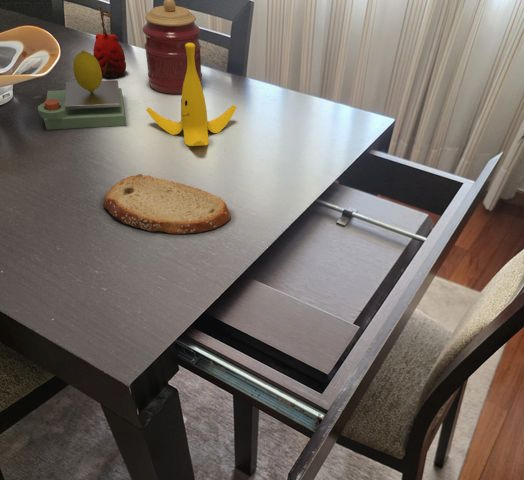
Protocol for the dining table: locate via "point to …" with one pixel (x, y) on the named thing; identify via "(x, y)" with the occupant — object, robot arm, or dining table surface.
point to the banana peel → (193, 109)
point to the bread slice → (165, 205)
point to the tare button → (52, 104)
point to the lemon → (87, 71)
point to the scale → (80, 114)
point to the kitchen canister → (170, 46)
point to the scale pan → (92, 96)
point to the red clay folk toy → (109, 53)
